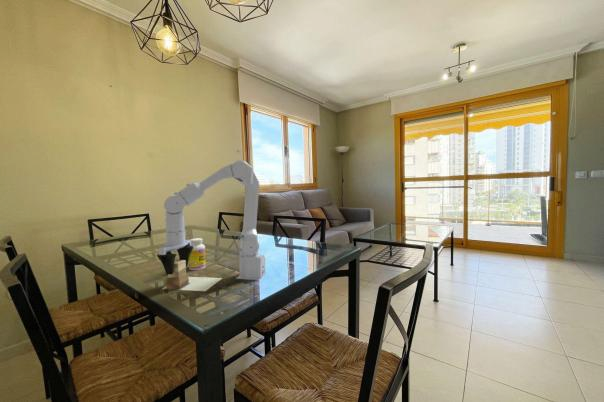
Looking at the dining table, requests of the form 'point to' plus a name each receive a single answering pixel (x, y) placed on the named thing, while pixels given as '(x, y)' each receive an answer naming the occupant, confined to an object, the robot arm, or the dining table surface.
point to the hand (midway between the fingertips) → (177, 270)
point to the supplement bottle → (197, 255)
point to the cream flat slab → (199, 283)
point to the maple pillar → (178, 269)
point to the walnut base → (177, 282)
